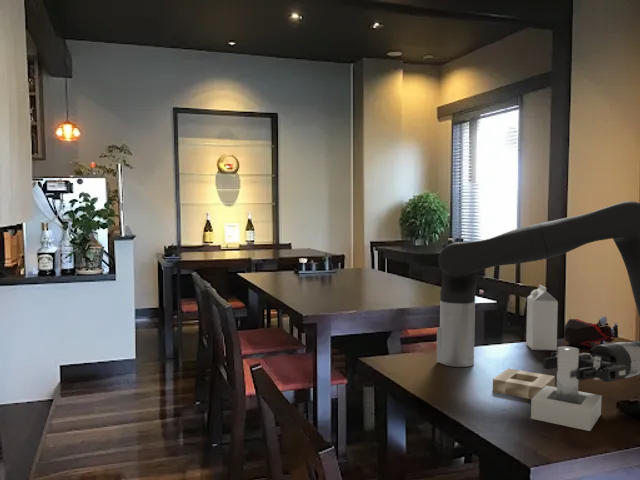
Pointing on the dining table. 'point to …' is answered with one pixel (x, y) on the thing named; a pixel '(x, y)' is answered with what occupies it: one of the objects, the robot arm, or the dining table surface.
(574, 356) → the steel peg
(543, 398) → the grey socket
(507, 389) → the maple socket
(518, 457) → the dining table surface
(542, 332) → the milk carton
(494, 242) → the robot arm
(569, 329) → the toy
